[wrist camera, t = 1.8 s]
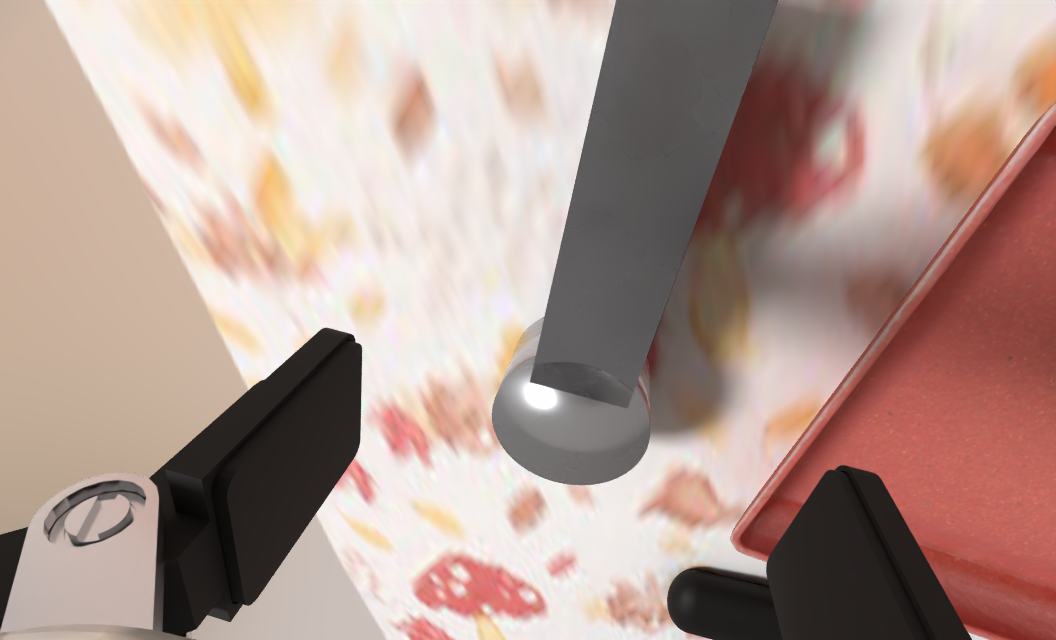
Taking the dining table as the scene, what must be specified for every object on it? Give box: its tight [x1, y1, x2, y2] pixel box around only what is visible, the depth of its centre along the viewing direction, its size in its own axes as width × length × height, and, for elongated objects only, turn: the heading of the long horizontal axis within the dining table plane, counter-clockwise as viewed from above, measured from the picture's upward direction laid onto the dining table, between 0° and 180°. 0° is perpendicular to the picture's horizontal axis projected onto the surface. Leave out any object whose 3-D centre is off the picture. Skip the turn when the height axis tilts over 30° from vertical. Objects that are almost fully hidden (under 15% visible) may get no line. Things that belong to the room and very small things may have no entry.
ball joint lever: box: [492, 0, 778, 485], centre depth 17 cm, size 16×6×4 cm, turn 170°
